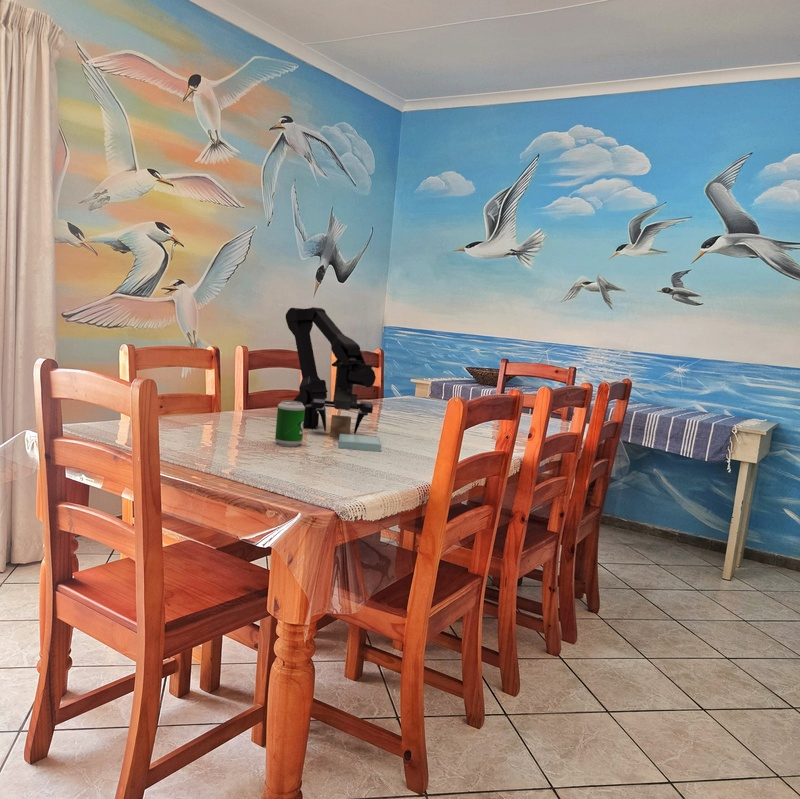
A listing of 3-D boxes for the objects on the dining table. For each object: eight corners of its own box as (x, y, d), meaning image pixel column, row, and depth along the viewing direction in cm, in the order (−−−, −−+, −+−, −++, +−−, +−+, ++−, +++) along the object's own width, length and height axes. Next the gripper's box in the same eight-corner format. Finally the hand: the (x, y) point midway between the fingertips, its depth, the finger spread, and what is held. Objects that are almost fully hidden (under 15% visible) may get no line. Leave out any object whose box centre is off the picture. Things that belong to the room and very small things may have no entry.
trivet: (338, 448, 197) (338, 440, 196) (339, 440, 208) (339, 433, 208) (380, 451, 197) (381, 444, 197) (378, 443, 209) (379, 436, 209)
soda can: (296, 448, 190) (300, 405, 189) (270, 444, 191) (274, 402, 190) (305, 444, 197) (309, 402, 196) (280, 440, 199) (283, 399, 197)
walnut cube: (329, 437, 212) (331, 417, 211) (330, 433, 218) (331, 414, 217) (349, 438, 213) (351, 419, 212) (349, 435, 219) (351, 416, 218)
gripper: (312, 382, 205) (308, 434, 207) (375, 388, 206) (370, 440, 208) (314, 378, 216) (310, 428, 218) (374, 384, 217) (369, 433, 219)
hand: (339, 432), depth 215 cm, fingers open, 9 cm apart
